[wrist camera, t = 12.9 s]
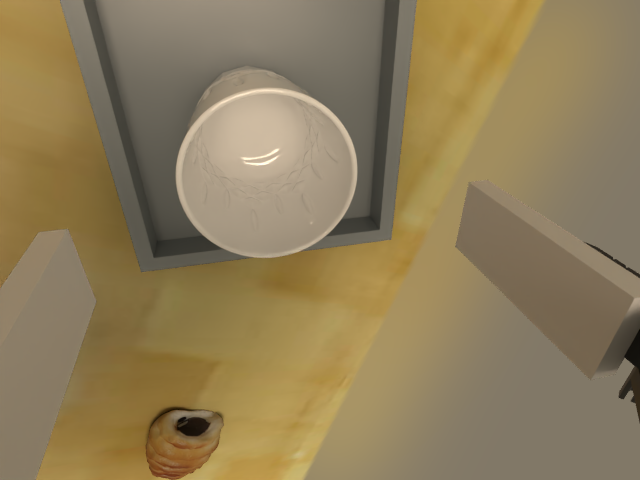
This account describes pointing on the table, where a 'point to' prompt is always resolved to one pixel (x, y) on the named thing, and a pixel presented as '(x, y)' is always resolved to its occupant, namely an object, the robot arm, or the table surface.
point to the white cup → (264, 165)
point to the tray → (227, 54)
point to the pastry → (182, 442)
